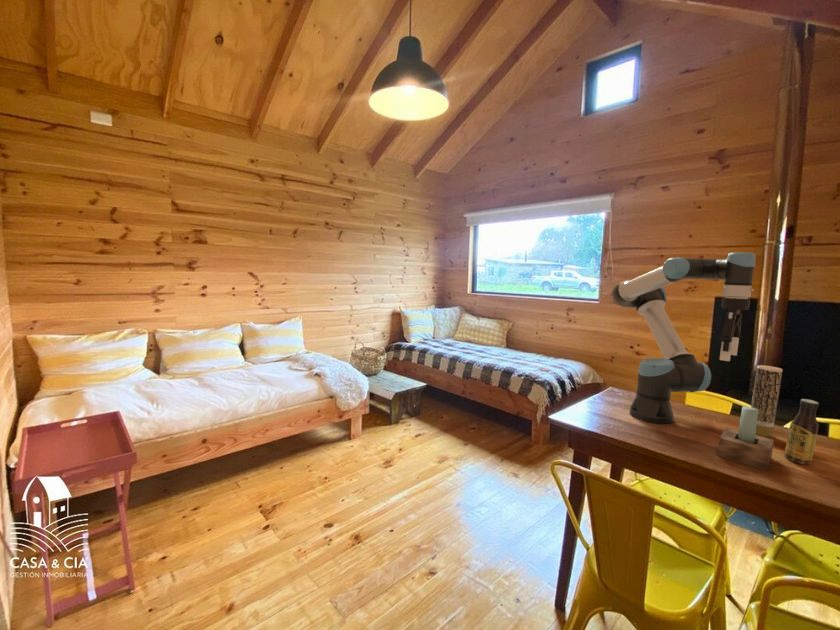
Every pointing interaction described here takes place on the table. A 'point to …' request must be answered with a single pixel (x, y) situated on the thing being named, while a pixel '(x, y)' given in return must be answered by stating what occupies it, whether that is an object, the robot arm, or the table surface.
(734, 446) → the bore block
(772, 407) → the bark-textured cylinder
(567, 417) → the table surface
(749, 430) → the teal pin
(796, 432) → the sauce bottle
